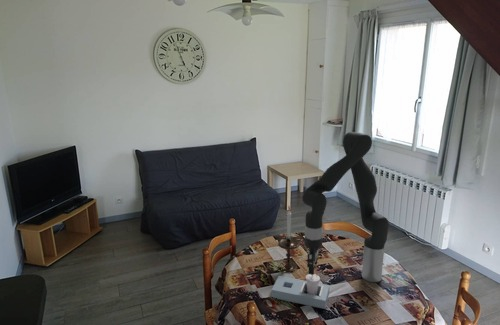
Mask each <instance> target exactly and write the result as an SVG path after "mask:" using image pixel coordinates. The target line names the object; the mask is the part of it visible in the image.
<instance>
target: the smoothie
mask: <svg viewBox="0 0 500 325" xmlns="http://www.w3.org/2000/svg"><path fill="white" fill-rule="evenodd" d="M305 281H307V290H308V292H307V294H310V295H315V296H318V294H317V291H318V285H319V283H321V282H320V281H321V278H320V276H319V275H318V274H316V273H314V274H313V275H311V274H309V273H308V274H307V275H305Z"/></svg>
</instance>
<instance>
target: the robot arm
mask: <svg viewBox="0 0 500 325" xmlns="http://www.w3.org/2000/svg"><path fill="white" fill-rule="evenodd" d="M342 146H343V147H342V148H343V151H344V152H345V156H343V157H342V158H341V159H339V160H338V161H336V162H334V163H332V164H331V165H330V166H329V167H328V168H326V170H324V172H323V174H322V175H321V176H320V177H319V179H318V180H316V181H315V182H314V183H312V184H311V185H310V186H309V187H307V188H306V190H305V191H304V192H303V195H302V198H301V200H302V202H303V204H305V205H306V206H308V207H310V208H311V210H309V211H307V212H306V213H305V227H304V246H305V247H306V248H307V249H308V250H307V263H306V264H307V266H306V267H307V268H308V274H311V275H313V274H315V265H317V264H318V256H319V249H321V248H322V247H323V236H324V235H323V232H324V231H323V216H324V213H325V209H326V206H327V198H326V197H327V196H325V194H324V193H325V192H329V193H330V192H332V191H333V190H334V189H335V187H336V186H337V184H338V183H339V182H340V180H341V179H342V178H343V177H344V175H346V173H348V172H349V171H351V174H352V178H353V183H354V187H355V191H356V194H357V199H358V203H359V204H358V205H359V209H360V218H361V223H362V226H363V227H364V228H365V229H366V230H367V231H369V232H371V235H370V236H367V237H365V238H364V241H363V252H362V253H363V254H362V265H361V266H362V267H361V268H362V269H361V277H362V279H363V280H365V281H366V282H370V283H378V282H380V281H381V280H382V277H383V264H384V255H385V246H386V245H385V244H386V242H387V241H388V239H387V238H388V234H389V227H390V226H389V220H388V218H387V217H386V216H384V215H381V214H379V213H377V212H376V209H375V205H374V200H375V198H376V195H377V193H378V187H377V182H376V178H375V175H374V173H373V171H372V169H370V167H369V166H368V164H366V162H365V160H364V156H366V155H367V154H368V152H369V151H370V150H371V148H372V146H373V140H372V137H371V136H370V135H369V134H366V133H363V132H356V131H348V132H347V133H345V135H344V136H343V140H342Z"/></svg>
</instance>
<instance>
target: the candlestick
mask: <svg viewBox="0 0 500 325" xmlns="http://www.w3.org/2000/svg"><path fill="white" fill-rule="evenodd" d="M287 209H288V212H287V214H286V217H287V218H286V223H287V224H286V225H287V226H286V230H287V231H286V236H285V237H283V238H280V239H279V240H278V242H277V245H278V247H279V248H281V249H284V250H287V252H286V253H285V256H286V258H285V260H286V262H287V263H286V265H285V266H284V267H285V268H286V269H283V268H281V267H280V265H281V264H283V263H284V262H285V261H284V262H281V263H280V264H279V269H280V268H281V269H282V270H283V271H286V272H285V273H287V272H291V273H294V272H293V271H295V270H296V269H297V270H298V265H297V264H296V263H294V262H291V261H292V259H291V257H292V253H291V250H296V249H298V248H299V247H300V240H298V239H296V238H293V236H291V235H292V234H291V233H292V212H291V206H290V205H288V208H287ZM282 270H281V271H282ZM297 270H296V271H297ZM283 271H282V272H283ZM296 271H295V272H296Z"/></svg>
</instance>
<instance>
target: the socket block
mask: <svg viewBox="0 0 500 325" xmlns="http://www.w3.org/2000/svg"><path fill="white" fill-rule="evenodd" d="M330 287H331V285H330V284H325V283H321V282H319V285H318V291H317V296H315V295H310V294H308V290H307V281H306V280H303V279H298V278H293V277H288V276H281V275H278V276H277V278H276V281H275V282H274V283H273V286H272V288H271V298H272V297H273V298H272V299H276V298H277V299H276V300H282V301H286V302H289V303H295V304H301V305H305V306H310V307H313V308H318V309H324V310H326V308H327V303H328V299H329V294H330ZM305 292H307V293H305Z"/></svg>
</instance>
